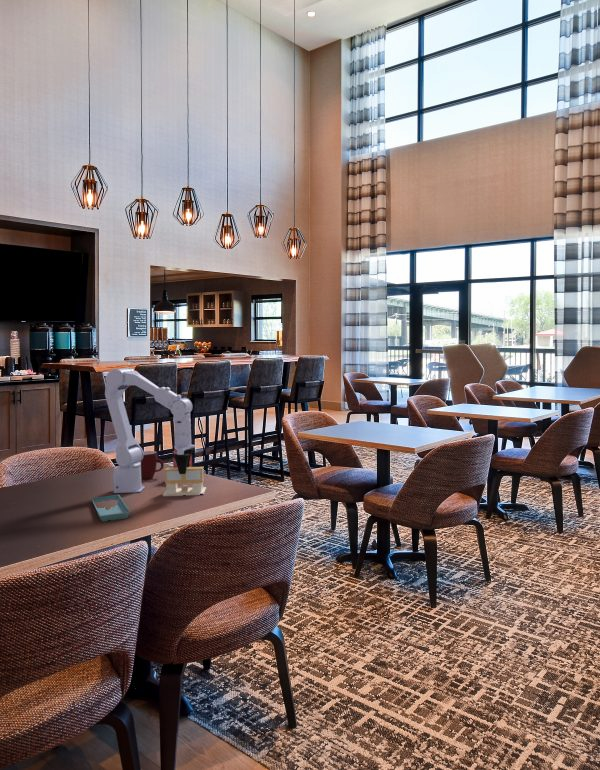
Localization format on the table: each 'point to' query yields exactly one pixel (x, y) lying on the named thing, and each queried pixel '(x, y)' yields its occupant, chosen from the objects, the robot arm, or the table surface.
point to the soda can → (176, 463)
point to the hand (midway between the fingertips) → (184, 471)
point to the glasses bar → (184, 475)
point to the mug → (150, 464)
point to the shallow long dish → (113, 513)
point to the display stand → (184, 490)
